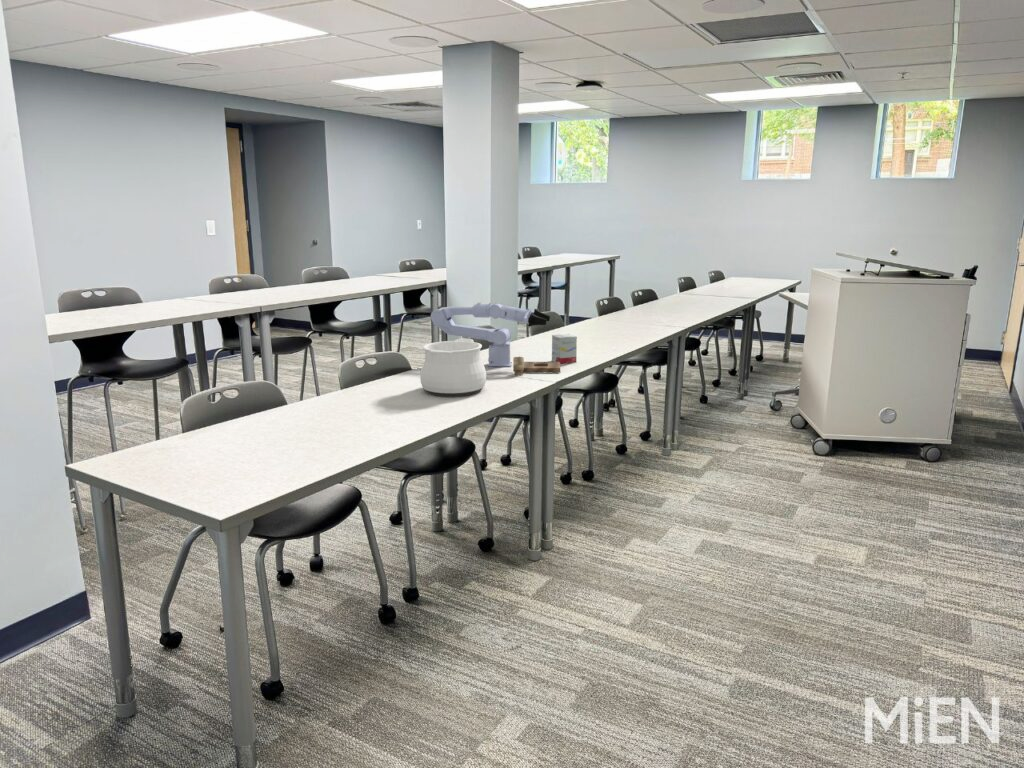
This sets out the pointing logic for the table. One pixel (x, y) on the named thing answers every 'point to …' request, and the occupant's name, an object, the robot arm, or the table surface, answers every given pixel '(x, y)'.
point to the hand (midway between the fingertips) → (548, 320)
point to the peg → (518, 365)
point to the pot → (453, 368)
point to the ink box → (564, 348)
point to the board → (541, 367)
